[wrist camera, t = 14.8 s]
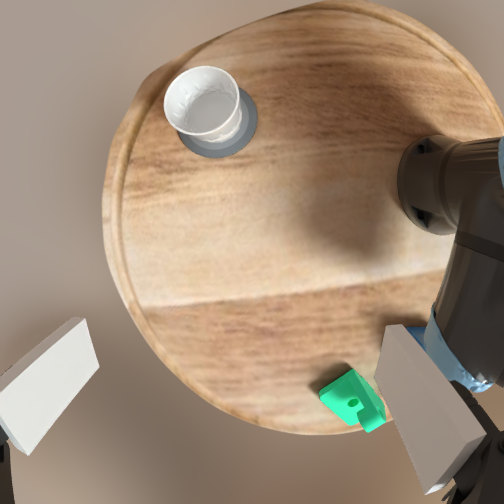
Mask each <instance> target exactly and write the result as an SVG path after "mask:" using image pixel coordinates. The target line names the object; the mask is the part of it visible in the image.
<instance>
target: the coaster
mask: <svg viewBox="0 0 504 504" xmlns="http://www.w3.org/2000/svg"><path fill="white" fill-rule="evenodd" d="M238 90H239V95H240V101H241V107H242V122H241V125H240V129H239V130H238V131H237V133H236V134H235V135H234V136H233V137H232V138H230V139H228V140H226V141H224V142H222V143H210V142H207V141H203V140H200V139H197V138H194V137H192V136H190V135H187V134H185V133H182V132H180V131H178V132H179V135H180V137H181V139H182V141H183V143H184V144H185V145H186V146H187V147H188V148H189V149H190V150H191V151H193V152H194V153H196V154H198V155H201V156H204V157H208V158H223V157H227V156H230V155H232V154H234V153H236V152H238V151H240V150H241V149H242V148H243V147H245V146H246V145H247V144H248V142H249V141H250V140H251V138H252V137H253V135H254V133H255V130H256V126H257V111H256V107H255V104H254V102H253V100H252V99H251V97H250V96H249V95H248V94H247V93H246V92H245V91H244V90H242V89H241V88H239V87H238Z"/></svg>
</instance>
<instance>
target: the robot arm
mask: <svg viewBox="0 0 504 504" xmlns="http://www.w3.org/2000/svg"><path fill="white" fill-rule="evenodd" d="M398 192H399V197H400V200H401V203H402V206H403V208H404V210H405V212H406V214H407V215H408V217H409V218H410V219H411V221H412V222H413V223H414V224H415V225H417V226H418V227H419V228H421V229H422V230H424V231H427V232H430V233H433V234H436V235H450V234H454V233H456V235H455V240H454V242H453V246H452V250H451V254H450V258H449V261H448V265H447V268H446V271H445V275H444V278H443V281H442V284H441V287H440V290H439V293H438V296H437V298H436V301H435V302H434V303H433V305H432V308H431V315H430V318H429V321H428V324H427V327H426V330H425V333H424V346H425V349H426V352H427V353H426V352H425V351H424V350H423V349H422V347H421V346H420V345H419V344H418V343H417V341H416V340H415V339H414V338H413V337H412V335H411V334H410V333H409V332H408V331H407V330H406V328H405V327H404V326H403V325H402V324H398V325H387V326H386V328H385V333H384V338H383V343H382V347H381V352H380V356H379V360H378V364H377V368H376V372H375V376H374V379H375V381H376V383H377V385H378V387H379V389H380V392H381V394H382V396H383V398H384V400H385V402H386V404H387V406H388V409H389V411H390V413H391V415H392V417H393V420H394V422H395V424H396V426H397V428H398V431H399V433H400V435H401V438H402V440H403V442H404V444H405V447H406V449H407V451H408V454H409V456H410V459H411V461H412V463H413V466H414V468H415V471H416V473H417V476H418V478H419V481H420V483H421V486H422V489H423V491H424V494H425V495H426V494H429V493H431V492H434V491H437V490H439V489H441V488H444V487H445V486H446V485H447V484H448V483H449V482H450V480H451V479H452V478H454V480H455V483H456V484H455V485H454V486H453V487H452V489H450V491H449V492H448V493H447V494H446V495H445V496H444V497H443V499H442V501H445V500H446V499H447V498H448V497H449V499H448V501H447V504H504V431H501V432H500V431H499V430H498V428H497V427H496V426H495V424H494V423H493V422H492V420H491V419H490V417H489V416H488V415H487V413H486V412H485V411H484V410H483V408H482V407H481V406H480V405H478V402H477V400H476V399H475V398H473V395H472V394H471V393H470V391H469V390H468V389H470V390H472V392H482V391H485V390H486V389H488V388H489V387H490V386H492V384H493V383H496V384H497V385H499V386H501V387H502V388H504V136H503V137H495V138H487V139H480V140H474V141H467V142H461V141H458V140H456V139H453V138H450V137H447V136H444V135H430V136H426V137H422V138H419V139H417V140H416V141H414V142H413V143H412V144H411V145H410V146H409V147H408V148H407V149H406V151H405V153H404V154H403V156H402V159H401V161H400V165H399V169H398ZM98 367H99V365H98V361H97V358H96V355H95V352H94V348H93V345H92V342H91V338H90V335H89V331H88V327H87V323H86V319H85V318H80V317H73V318H71V319H70V320H68V321H67V322H66V323H65V324H63V325H62V326H61V327H59V328H58V329H57V330H56V331H54V332H53V333H52V334H51V335H49V336H48V337H47V338H46V339H44V340H43V341H42V342H41V343H39V344H38V345H37V346H36V347H35V348H33V349H32V350H31V351H30V352H28V353H27V354H26V355H25V356H24V357H22V358H21V359H20V360H19V361H18V362H16V363H15V364H14V365H12V366H11V367H10V368H9V369H8V370H7V371H5V373H3V374H2V375H1V376H0V504H15V501H14V494H13V486H12V477H11V466H10V448H9V445H8V443H7V442H6V440H8V438H10V440H11V441H12V443H13V444H14V445H15V447H16V448H17V449H19V450H20V451H22V452H23V453H25V454H27V455H28V456H29V455H30V453H31V452H32V451H33V449H34V448H35V447H36V445H37V444H38V443H39V441H40V440H41V439H42V437H43V436H44V435H45V433H46V432H47V431H48V430H49V428H50V427H51V426H52V424H53V423H54V422H55V421H56V419H57V418H58V417H59V416H60V414H61V413H62V412H63V411H64V409H65V408H66V407H67V405H68V404H69V403H70V402H71V401H72V399H73V398H74V397H75V396H76V394H77V393H78V392H79V391H80V390H81V388H82V387H83V386H84V385H85V383H86V382H87V381H88V380H89V379H90V377H91V376H92V375H93V374H94V373H95V371H96V370H97V369H98ZM446 378H447V379H448V380H449V381H448V380H447V379H446Z"/></svg>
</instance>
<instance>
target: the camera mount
mask: <svg viewBox="0 0 504 504" xmlns="http://www.w3.org/2000/svg"><path fill="white" fill-rule="evenodd" d="M319 396H320V400H321V401H322V402H323V403H324V404H325V405H326V406H327V407H329V408H330V409H331V410H332V411H333V412H334V413H335V414H337V415H338V416H339V417H340V418H341V419H342V420H344V421H345V422H346V423H347V424H348V425H354V424H356V423H358V422H360V424H361V425H362V427H363V428H364V429H365V430H366V431H367V432H370V431H372V430H373V429H375V428H377V427H378V426H380V425H382V424H383V423H385V422H386V414H385V406H384V404H383V402H382V400H381V399H380V398H379V397H378V396H377V395H376V393H375V392H374V390H373V389H372V387H371V386H370V385H369V384H368V383H367V382H366V381H365V379H364V378H363V377H362V376H361V377H360V375H359V374H358V373H357V372H356V371H355V370H354V369H352V370H350V371H349V372H347V373H346V374H344V375H343V376H341V377H340V378H338V379H337V380H335V381H334V382H332V383H331V384H329V385H327V386H326V387H324V388H323V389H321V390H320V391H319Z"/></svg>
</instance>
